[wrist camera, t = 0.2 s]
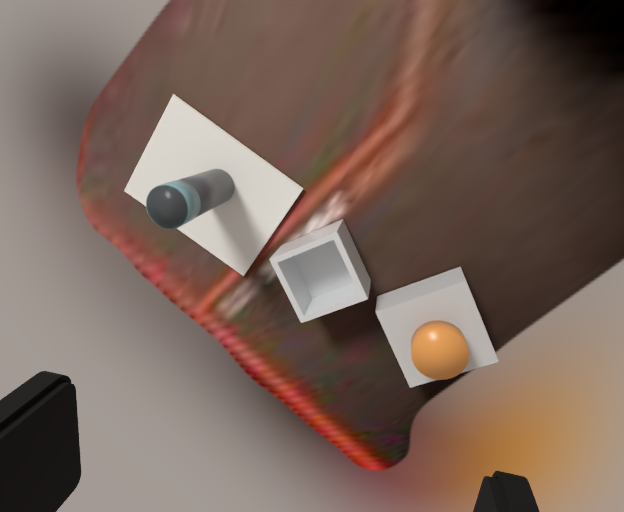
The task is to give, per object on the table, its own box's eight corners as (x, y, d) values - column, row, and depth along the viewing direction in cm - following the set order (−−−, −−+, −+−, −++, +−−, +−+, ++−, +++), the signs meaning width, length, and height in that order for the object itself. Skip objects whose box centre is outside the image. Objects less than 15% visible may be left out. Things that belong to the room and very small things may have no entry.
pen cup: (281, 244, 47) (269, 259, 43) (343, 219, 45) (336, 231, 41) (310, 302, 49) (301, 323, 44) (370, 280, 47) (368, 299, 42)
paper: (125, 190, 49) (124, 190, 48) (174, 94, 44) (173, 94, 44) (244, 275, 49) (243, 276, 49) (303, 188, 45) (303, 188, 45)
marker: (195, 177, 46) (137, 195, 36) (224, 162, 45) (174, 177, 35) (211, 208, 47) (160, 235, 37) (240, 195, 46) (196, 218, 36)
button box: (377, 296, 47) (375, 312, 43) (460, 266, 45) (466, 280, 41) (409, 366, 49) (410, 387, 45) (490, 341, 46) (498, 362, 43)
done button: (402, 330, 42) (403, 340, 40) (454, 313, 40) (457, 323, 39) (422, 374, 43) (423, 386, 41) (473, 358, 41) (477, 370, 40)
